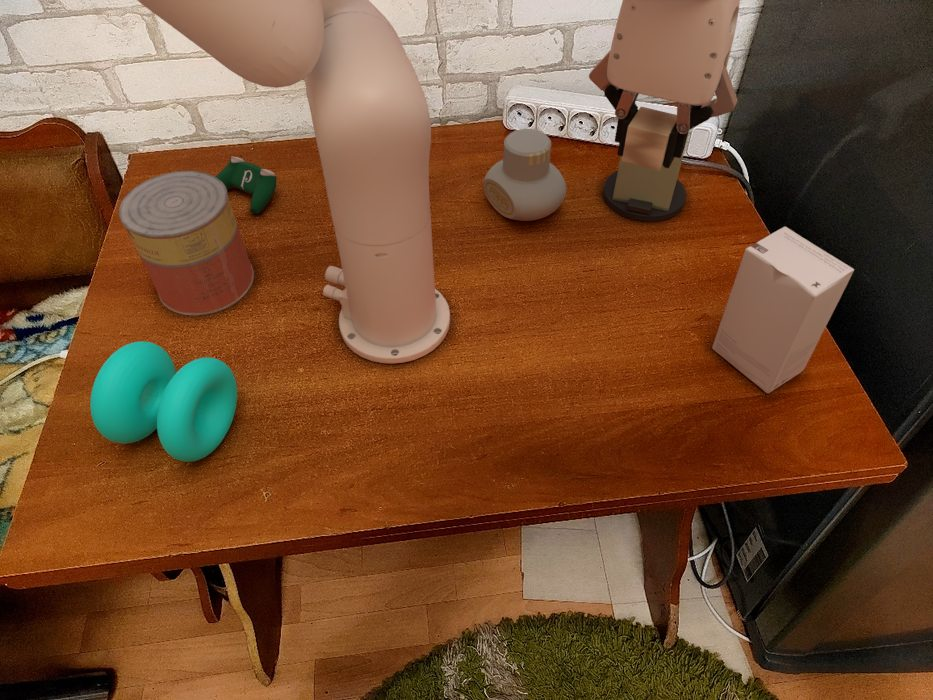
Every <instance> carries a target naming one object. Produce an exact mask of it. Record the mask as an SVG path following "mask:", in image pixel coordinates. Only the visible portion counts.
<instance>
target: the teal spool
mask: <svg viewBox="0 0 933 700" xmlns="http://www.w3.org/2000/svg"><path fill="white" fill-rule="evenodd" d="M175 366H176V365H175V364H174V361H173V359H172V357H171V356H170V355H169V353H168V352H167V351H166V350H165V349H164V348H163V347H162V346H160V345H158V344H156V343H154V342H150V341H144V340H143V341H139V340H138V341H134V342H133V341H132V342H130V343H128V344H125V345H123V346H121V347H120V348H118V349H117V350H115V351H114V352H113V353H112V354H111V355H110V356H109V357H108V358H107V359H106V360H105V361H104V363H103V364H102V366H101V367H100V368H99V371H98V373H97V374H96V377H95V379H94V382H93V384H92V387H91V393H90V401H89V402H90V404H89V405H90V415H91V419H92V422H93V424H94V426H95V429H96V430H97V431H98V432H99V434H100V435H101V436H102V437H104V438H105V439H106V440H108V441H110V442H113V443H117V444H125V445H126V444H132V443H137V442H140V441H142V440H144V439H145V438H147V437H149V436H150V435H151V434H153V433H154V432H155V431H156V430H157V436H158V440H159V442H160V444H161V446H162V448H163V450H164V451H165V452H166V453H167V454H168V455H169V456H170V457H172V458H173V459H175V460H177V461H180V462H185V463H189V462H190V463H191V462H197V461H201V460H202V459H204V458H206V457H208V456H209V455H211V454H212V453H213V452H214V451H215V450H216V449H217V448H218V447H219V446H220V444H222V442H223V440H224V439H225V437H226V436H227V434H228V432H229V430H230V428H231V425H232V423H233V421H234V417H235V414H236V409H237V404H238V403H237V402H238V385H237V381H236V377H235V375H234V373H233V371H232V369H231V368H230V367H229V366H228V365H227V364H226V363H225V362H224V361H222V360H221V359H219V358H215V357H208V356H206V357H199V358H196V359H193V360H191V361H188V362H187V363H186V364H184V365H183V366H182V367H181V368H179V370H178V371H176V367H175Z"/></svg>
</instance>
